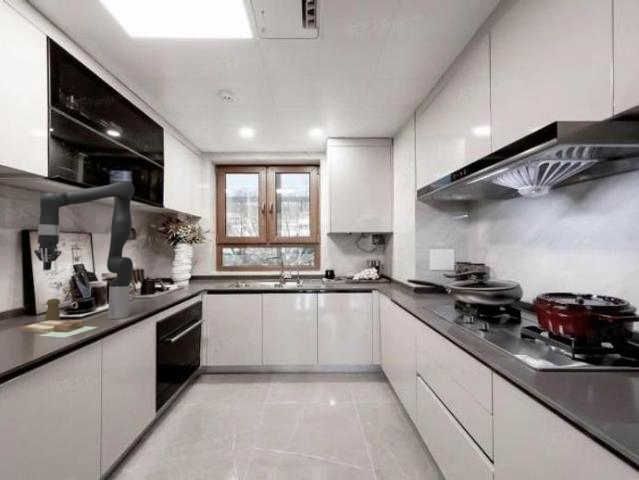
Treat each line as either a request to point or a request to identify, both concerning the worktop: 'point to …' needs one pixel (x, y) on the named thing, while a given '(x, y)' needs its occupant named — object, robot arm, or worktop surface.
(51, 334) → the sage mat
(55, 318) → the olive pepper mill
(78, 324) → the walnut tile
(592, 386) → the worktop surface
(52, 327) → the birch deck
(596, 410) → the worktop surface
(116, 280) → the robot arm
